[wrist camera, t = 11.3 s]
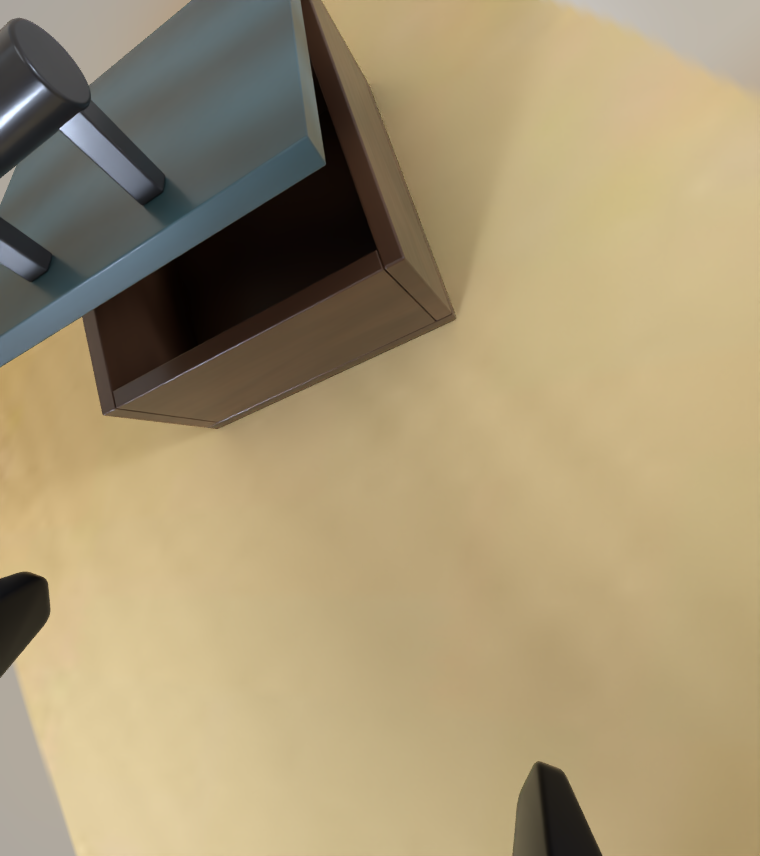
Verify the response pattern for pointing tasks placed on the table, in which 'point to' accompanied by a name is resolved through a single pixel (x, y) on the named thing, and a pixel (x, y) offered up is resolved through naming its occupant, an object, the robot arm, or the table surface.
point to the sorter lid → (142, 153)
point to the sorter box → (280, 278)
